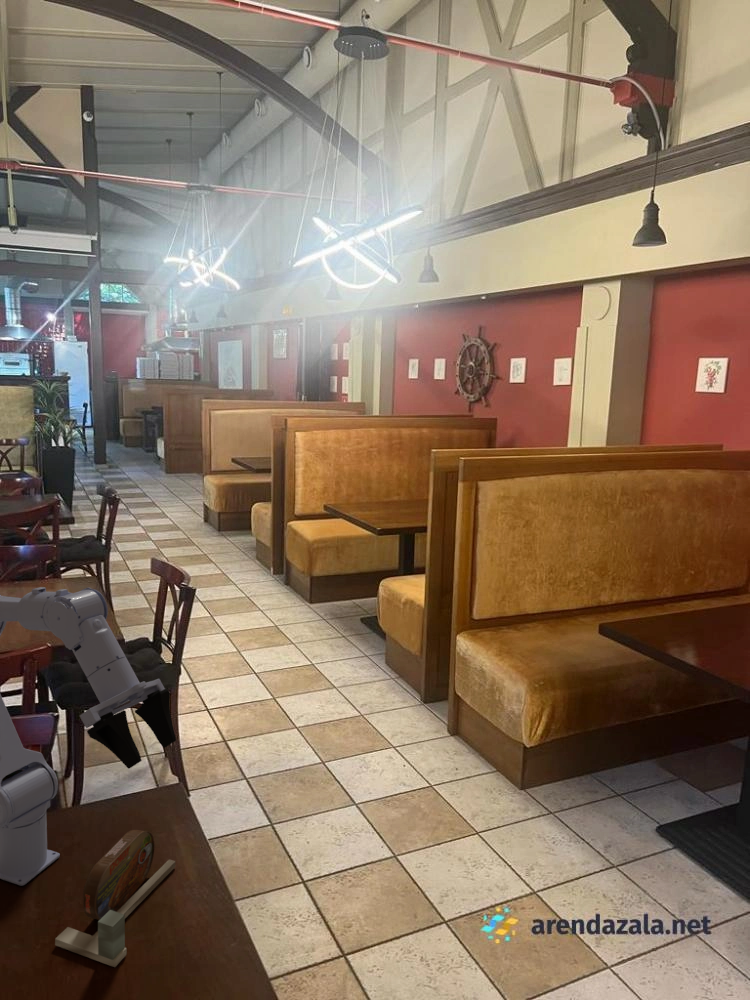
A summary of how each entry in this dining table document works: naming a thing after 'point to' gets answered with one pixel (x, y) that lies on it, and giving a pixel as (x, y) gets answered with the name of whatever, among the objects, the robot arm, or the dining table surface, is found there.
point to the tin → (118, 874)
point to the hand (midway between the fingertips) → (153, 754)
